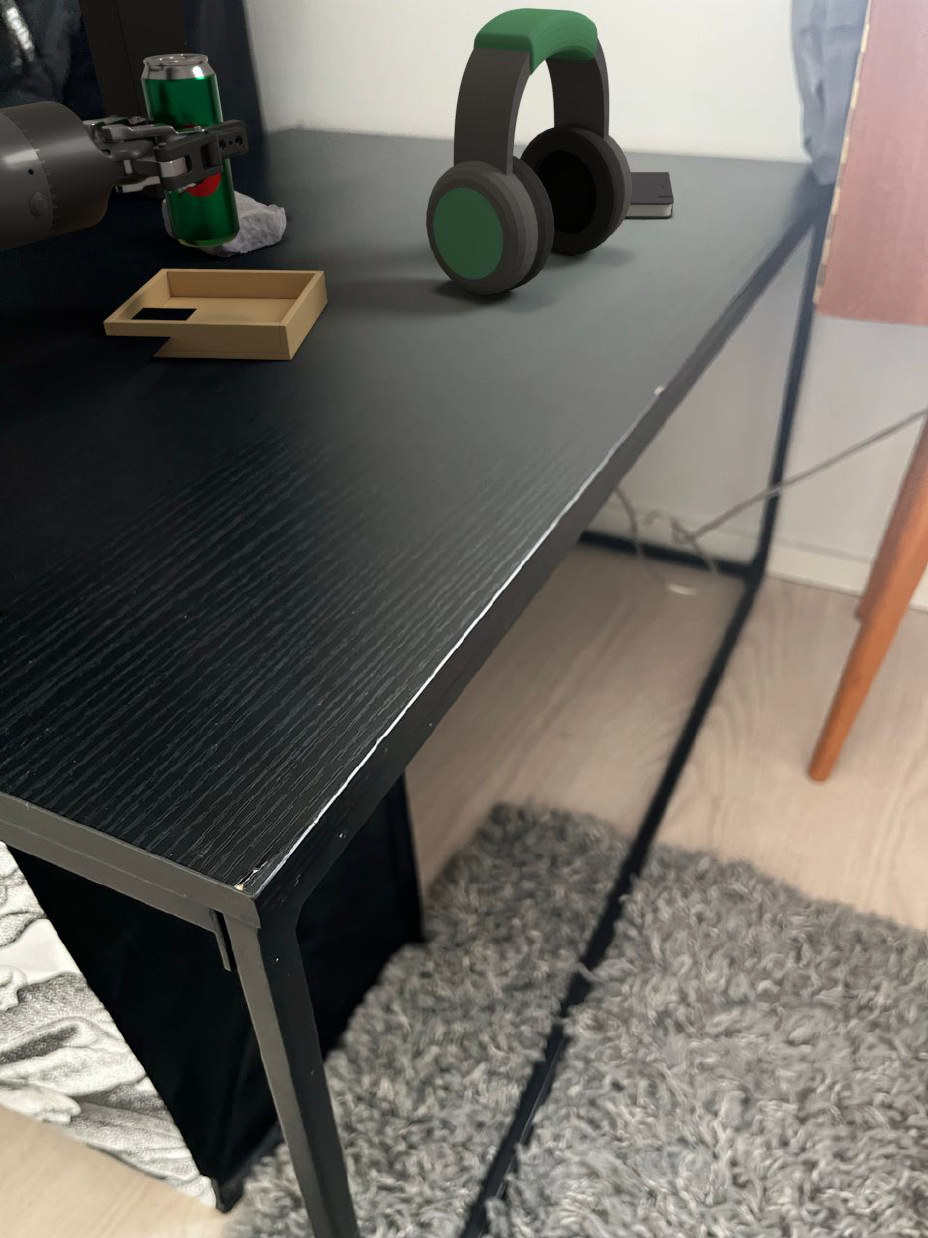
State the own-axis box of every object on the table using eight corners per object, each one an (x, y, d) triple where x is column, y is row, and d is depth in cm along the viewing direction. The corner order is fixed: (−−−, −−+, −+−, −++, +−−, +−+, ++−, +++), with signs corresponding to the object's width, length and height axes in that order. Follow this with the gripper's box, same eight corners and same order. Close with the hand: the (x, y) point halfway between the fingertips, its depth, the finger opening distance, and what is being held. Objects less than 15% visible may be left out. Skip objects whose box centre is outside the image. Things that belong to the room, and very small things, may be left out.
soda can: (255, 235, 72) (228, 54, 65) (207, 252, 69) (172, 64, 62) (208, 226, 74) (177, 50, 67) (159, 242, 71) (121, 59, 64)
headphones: (522, 314, 77) (526, 28, 64) (419, 289, 82) (404, 20, 70) (635, 252, 89) (658, 0, 76) (539, 234, 94) (545, -5, 81)
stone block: (241, 233, 102) (155, 233, 96) (242, 185, 100) (154, 183, 94) (302, 261, 96) (213, 264, 89) (305, 211, 93) (214, 210, 87)
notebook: (667, 186, 107) (481, 185, 109) (669, 171, 106) (481, 171, 108) (673, 218, 97) (468, 217, 99) (674, 202, 96) (468, 201, 98)
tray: (112, 356, 72) (102, 321, 71) (168, 299, 82) (161, 268, 80) (290, 360, 71) (285, 325, 69) (327, 302, 80) (324, 270, 79)
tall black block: (158, 200, 108) (91, -109, 90) (121, 189, 112) (51, -107, 94) (215, 186, 112) (162, -111, 95) (178, 176, 116) (120, -110, 99)
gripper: (60, 122, 53) (279, 80, 63) (-73, 101, 60) (144, 66, 70) (95, 259, 57) (293, 199, 68) (-33, 224, 64) (165, 174, 75)
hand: (216, 131), depth 69 cm, fingers closed on soda can, 5 cm apart
